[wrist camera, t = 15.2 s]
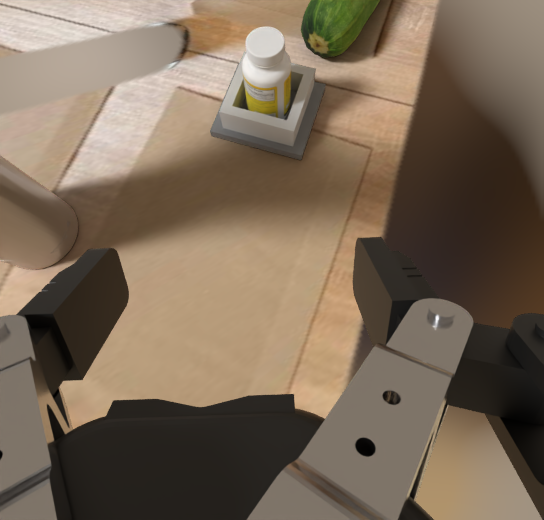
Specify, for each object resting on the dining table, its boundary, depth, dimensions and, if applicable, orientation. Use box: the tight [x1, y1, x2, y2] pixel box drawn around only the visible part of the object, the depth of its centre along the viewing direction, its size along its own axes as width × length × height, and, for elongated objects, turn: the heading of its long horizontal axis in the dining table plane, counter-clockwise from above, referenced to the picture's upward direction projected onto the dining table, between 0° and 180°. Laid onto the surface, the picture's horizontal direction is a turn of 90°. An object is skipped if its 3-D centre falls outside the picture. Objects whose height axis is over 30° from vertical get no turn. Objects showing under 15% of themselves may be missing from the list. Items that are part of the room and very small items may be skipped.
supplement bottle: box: [242, 27, 291, 119], centre depth 40 cm, size 5×5×10 cm
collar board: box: [210, 52, 326, 160], centre depth 43 cm, size 12×11×4 cm
